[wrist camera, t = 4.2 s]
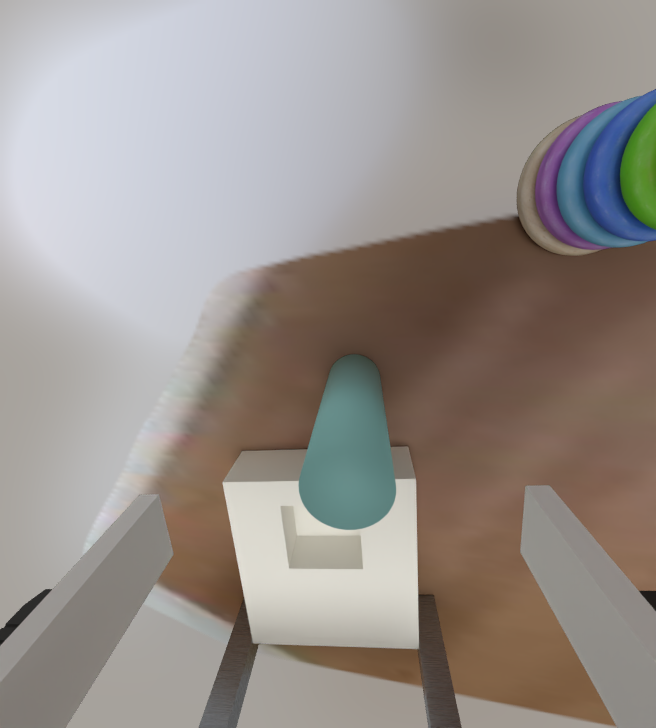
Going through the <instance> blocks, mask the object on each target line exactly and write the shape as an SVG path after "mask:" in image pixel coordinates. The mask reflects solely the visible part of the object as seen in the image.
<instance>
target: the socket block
mask: <svg viewBox="0 0 656 728" xmlns="http://www.w3.org/2000/svg"><path fill="white" fill-rule="evenodd" d="M390 448H391V455H392V462H393V469H394V475H395V482H396V497H395V501H394V504H393V506H392V508H391V510H390V511H389V512H388V514H387V515H386V516H385V517H384V518H383V519H381V520H380V521H379V522H377V523H375V524H374V525H371V526H369V527H366V528H363V529H357V530H343V529H337V528H333V527H330V526H328V525H325V524H324V523H322V522H320V521H319V520H317V519H316V518H314V517H313V516H312V515H311V514H310V513H309V512H308V511H307V509H306V508H305V506H304V504H303V502H302V500H301V498H300V494H299V478H300V474H301V470H302V467H303V463H304V460H305V456H306V453H307V449H297V450H261V451H242V452H241V454H240V455H239V457H238V458H237V460H236V462H235V463H234V465H233V466H232V468H231V470H230V471H229V473H228V474H227V476H226V478H225V479H224V481H223V487H224V493H225V498H226V503H227V508H228V514H229V519H230V524H231V530H232V535H233V540H234V545H235V551H236V556H237V561H238V567H239V572H240V577H241V582H242V588H243V593H244V598H245V604H246V609H247V614H248V619H249V625H250V630H251V635H252V641H253V644H283V645H313V646H342V647H372V648H401V649H419V621H418V565H417V510H416V477H415V473H414V469H413V465H412V460H411V456H410V452H409V448H408V446H404V447H390Z"/></svg>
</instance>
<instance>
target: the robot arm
mask: <svg viewBox="0 0 656 728" xmlns="http://www.w3.org/2000/svg"><path fill="white" fill-rule="evenodd" d="M520 552H521V554H522V556H523V558H524V560H525V561H526V563H527V565H528V567H529V569H530V570H531V572H532V574H533V576H534V578H535V579H536V581H537V583H538V585H539V587H540V588H541V590H542V592H543V594H544V596H545V598H546V599H547V601H548V603H549V605H550V607H551V608H552V610H553V612H554V614H555V616H556V617H557V619H558V621H559V623H560V625H561V626H562V628H563V630H564V632H565V634H566V635H567V637H568V639H569V641H570V643H571V645H572V646H573V648H574V650H575V652H576V654H577V655H578V657H579V659H580V661H581V663H582V664H583V666H584V668H585V670H586V672H587V673H588V675H589V677H590V679H591V681H592V682H593V684H594V686H595V688H596V690H597V691H598V693H599V695H600V697H601V699H602V701H603V702H604V704H605V706H606V708H607V710H608V711H609V713H610V715H611V717H612V719H613V720H614V722H615V724H616V726H617V728H656V591H638V590H637V589H636V587H635V586H634V585H633V584H632V583H631V581H630V580H629V579H628V578H627V577H626V575H625V574H624V573H623V572H622V571H621V570H620V568H619V567H618V566H617V565H616V564H615V562H614V561H613V560H612V559H611V558H610V557H609V555H608V554H607V553H606V552H605V551H604V549H603V548H602V547H601V546H600V545H599V543H598V542H597V541H596V540H595V539H594V538H593V536H592V535H591V534H590V533H589V532H588V530H587V529H586V528H585V527H584V526H583V525H582V523H581V522H580V521H579V520H578V519H577V517H576V516H575V515H574V514H573V513H572V512H571V510H570V509H569V508H568V507H567V506H566V504H565V503H564V502H563V501H562V500H561V498H560V497H559V496H558V495H557V494H556V493H555V491H554V490H553V489H552V488H551V487H550V485H540V486H525V499H524V512H523V525H522V537H521V550H520ZM172 556H173V550H172V546H171V541H170V537H169V533H168V529H167V525H166V521H165V517H164V513H163V509H162V505H161V501H160V497H159V494H151V495H139V496H138V497H137V498H136V499H135V500H134V501H133V502H132V504H131V505H130V506H129V507H128V508H127V509H126V510H125V511H124V512H123V513H122V514H121V515H120V517H119V518H118V519H117V520H116V521H115V522H114V523H113V524H112V525H111V526H110V527H109V529H108V530H107V531H106V532H105V533H104V534H103V535H102V536H101V537H100V538H99V539H98V540H97V542H96V543H95V544H94V545H93V546H92V547H91V548H90V549H89V550H88V551H87V552H86V553H85V555H84V556H83V557H82V558H81V559H80V560H79V561H78V562H77V563H76V564H75V565H74V566H73V568H72V569H71V570H70V571H69V572H68V573H67V574H66V575H65V576H64V577H63V578H62V580H61V581H60V582H59V583H58V584H57V585H56V586H55V587H54V588H53V589H46V590H44V591H43V592H41V593H40V594H38V595H37V596H36V597H34V598H33V599H32V600H30V601H29V602H28V603H26V604H25V605H24V606H23V607H22V608H21V609H20V610H19V611H18V612H17V613H16V614H15V615H14V616H13V617H12V618H11V619H10V620H9V621H8V622H7V623H6V626H5V627H4V628H2V629H0V728H66V726H67V724H68V723H69V721H70V720H71V718H72V716H73V715H74V713H75V712H76V710H77V709H78V707H79V705H80V704H81V702H82V701H83V699H84V697H85V696H86V694H87V692H88V691H89V689H90V688H91V686H92V684H93V683H94V681H95V680H96V678H97V676H98V675H99V673H100V671H101V670H102V668H103V667H104V665H105V663H106V662H107V660H108V659H109V657H110V655H111V654H112V652H113V651H114V649H115V647H116V646H117V644H118V643H119V641H120V639H121V638H122V636H123V635H124V633H125V631H126V630H127V628H128V626H129V625H130V623H131V622H132V620H133V619H134V617H135V615H136V614H137V612H138V611H139V609H140V607H141V606H142V604H143V602H144V601H145V599H146V598H147V596H148V594H149V593H150V591H151V590H152V588H153V586H154V585H155V583H156V582H157V580H158V578H159V577H160V575H161V574H162V572H163V570H164V569H165V567H166V566H167V564H168V562H169V561H170V559H171V557H172Z"/></svg>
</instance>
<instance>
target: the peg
mask: <svg viewBox="0 0 656 728" xmlns="http://www.w3.org/2000/svg"><path fill="white" fill-rule="evenodd" d="M299 494H300V498H301V500H302V502H303V504H304V506H305V508H306V509H307V511H308V512H309V513H310V514H311V515H312V516H313V517H314V518H316V519H317V520H319V521H320V522H322V523H324V524H325V525H328V526H330V527H333V528H337V529H343V530H357V529H363V528H366V527H369V526H371V525H374V524H375V523H377V522H379V521H380V520H381V519H383V518H384V517H385V516H386V515H387V514H388V512H389V511H390V510H391V508H392V506H393V504H394V501H395V497H396V482H395V475H394V469H393V462H392V455H391V448H390V441H389V434H388V427H387V421H386V414H385V407H384V400H383V393H382V386H381V379H380V373H379V370H378V368H377V366H376V365H375V364H374V362H373V361H371V360H370V359H369V358H367V357H365V356H362V355H357V354H351V355H346V356H344V357H342V358H340V359H338V360H337V361H336V362H335V363H334V364H333V366H332V368H331V370H330V373H329V376H328V380H327V383H326V387H325V390H324V394H323V397H322V401H321V404H320V408H319V411H318V415H317V418H316V422H315V425H314V428H313V432H312V435H311V439H310V442H309V446H308V449H307V453H306V456H305V460H304V463H303V467H302V470H301V474H300V478H299Z"/></svg>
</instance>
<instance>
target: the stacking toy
mask: <svg viewBox="0 0 656 728" xmlns="http://www.w3.org/2000/svg"><path fill="white" fill-rule="evenodd" d="M517 209H518V214H519V218H520V221H521V223H522V226H523V228H524V229H525V231H526V233H527V234H528V235H529V236H530V238H531V239H532V240H533V241H534V242H536V243H537V244H538V245H539V246H541V247H543V248H544V249H546V250H548V251H550V252H553V253H557V254H561V255H570V256H578V255H585V254H590V253H594V252H597V251H600V250H602V249H607V248H612V247H629V246H634V245H638V244H642V243H645V242H648V241H654V240H656V89H655V90H653V91H651V92H648V93H647V94H645V95H643V96H638V97H634V98H630V99H627V100H625V101H619V102H613V103H609V104H606V105H602V106H600V107H597V108H595V109H593V110H591V111H589V112H587V113H585V114H583V115H581V116H578V117H575V118H573V119H571V120H569V121H567V122H565V123H563V124H562V125H560V126H559V127H557V128H556V129H554V130H553V131H552V132H551V133H549V134H548V135H547V136H546V137H545V138H544V139H543V140H542V141H541V142H540V143H539V144H538V145H537V147H536V148H535V149H534V150H533V152H532V153H531V155H530V156H529V158H528V160H527V162H526V164H525V166H524V168H523V171H522V174H521V176H520V180H519V184H518V189H517Z"/></svg>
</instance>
